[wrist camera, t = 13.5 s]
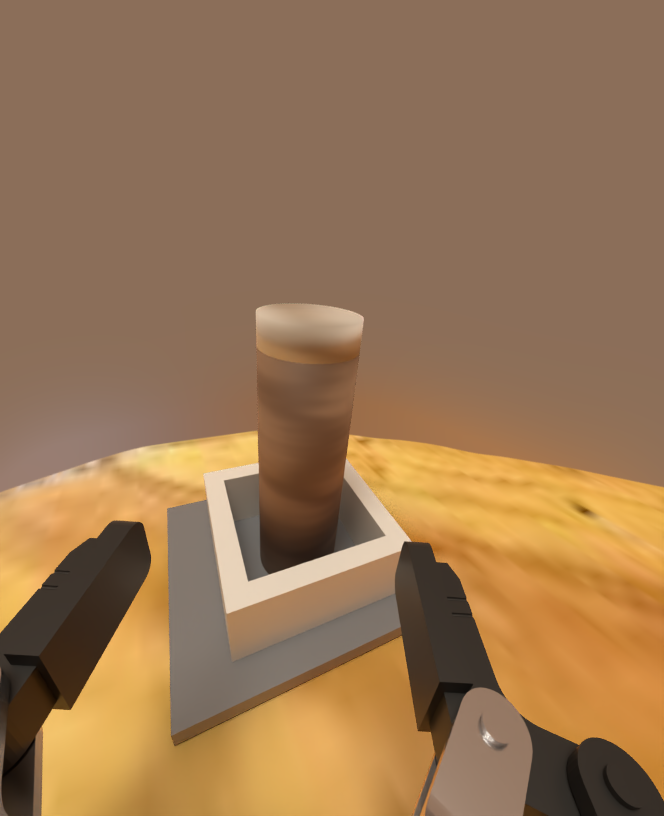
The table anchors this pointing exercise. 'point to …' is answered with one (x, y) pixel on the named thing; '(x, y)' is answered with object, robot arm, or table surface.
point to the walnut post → (303, 426)
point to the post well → (269, 600)
